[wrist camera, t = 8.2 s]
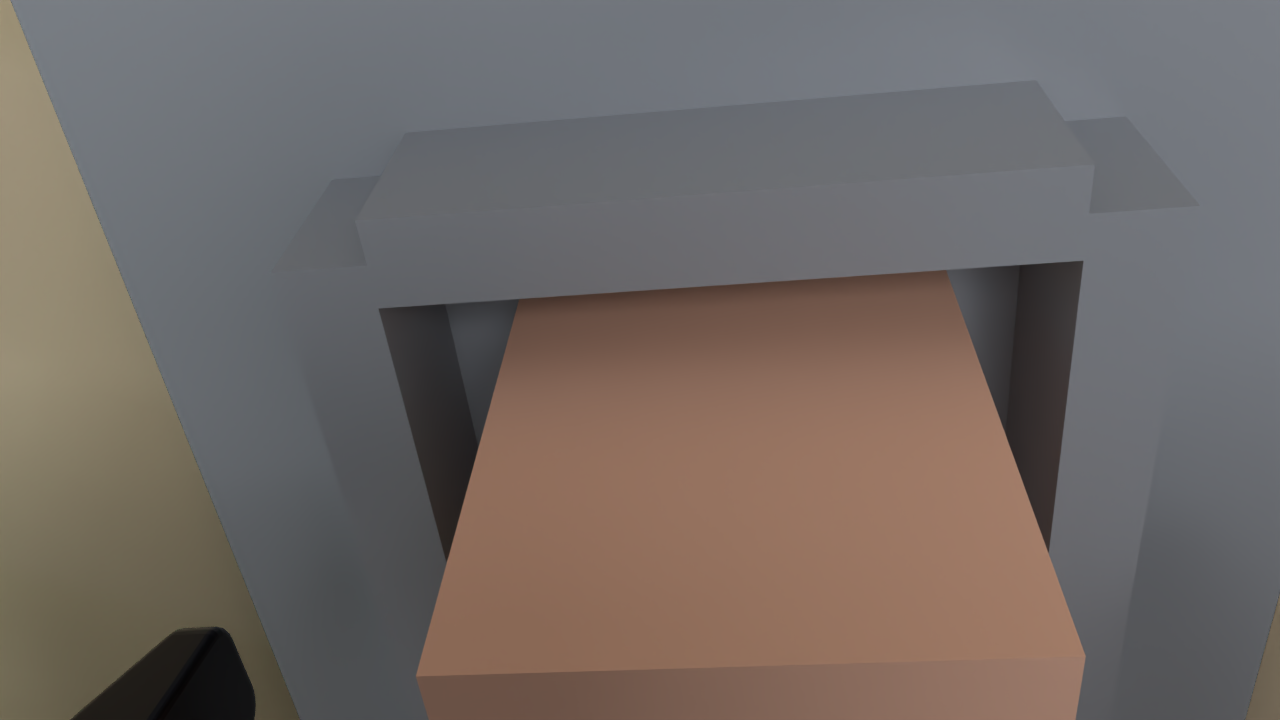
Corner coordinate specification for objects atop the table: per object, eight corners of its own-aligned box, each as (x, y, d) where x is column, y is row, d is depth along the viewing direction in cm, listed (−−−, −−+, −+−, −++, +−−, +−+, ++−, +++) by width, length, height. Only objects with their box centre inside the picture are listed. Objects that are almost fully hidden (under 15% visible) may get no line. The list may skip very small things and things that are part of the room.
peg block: (577, 577, 13) (518, 1016, 9) (524, 279, 11) (415, 676, 7) (924, 564, 13) (1028, 1015, 9) (939, 253, 11) (1084, 657, 7)
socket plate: (343, 762, 16) (292, 922, 14) (2, -124, 10) (-174, -57, 8) (1211, 738, 15) (1288, 910, 13) (1473, -287, 9) (1698, -254, 7)
